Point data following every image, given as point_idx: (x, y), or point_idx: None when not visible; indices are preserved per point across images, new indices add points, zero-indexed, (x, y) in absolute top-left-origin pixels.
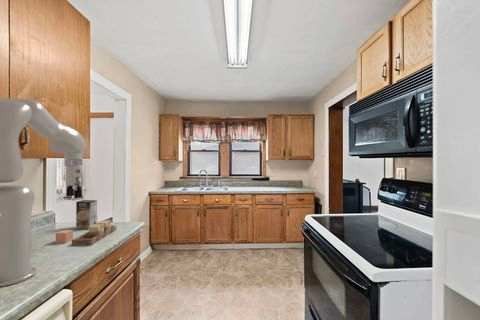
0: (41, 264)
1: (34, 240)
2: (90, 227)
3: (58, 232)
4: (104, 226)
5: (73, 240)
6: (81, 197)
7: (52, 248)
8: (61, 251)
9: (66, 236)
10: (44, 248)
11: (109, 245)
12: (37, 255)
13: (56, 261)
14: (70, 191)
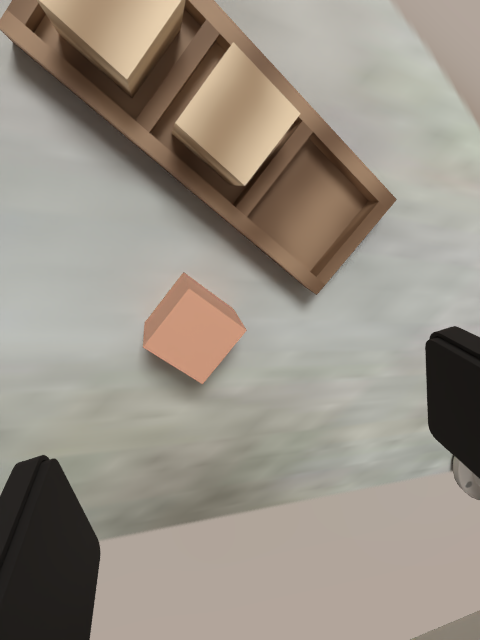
0: None
1: (44, 450)
2: (253, 172)
3: (194, 369)
4: (171, 27)
5: (322, 286)
6: (448, 331)
7: (282, 366)
8: (363, 332)
9: (238, 319)
10: (254, 396)
11: (461, 113)
12: (340, 412)
13: None
14: (58, 603)
